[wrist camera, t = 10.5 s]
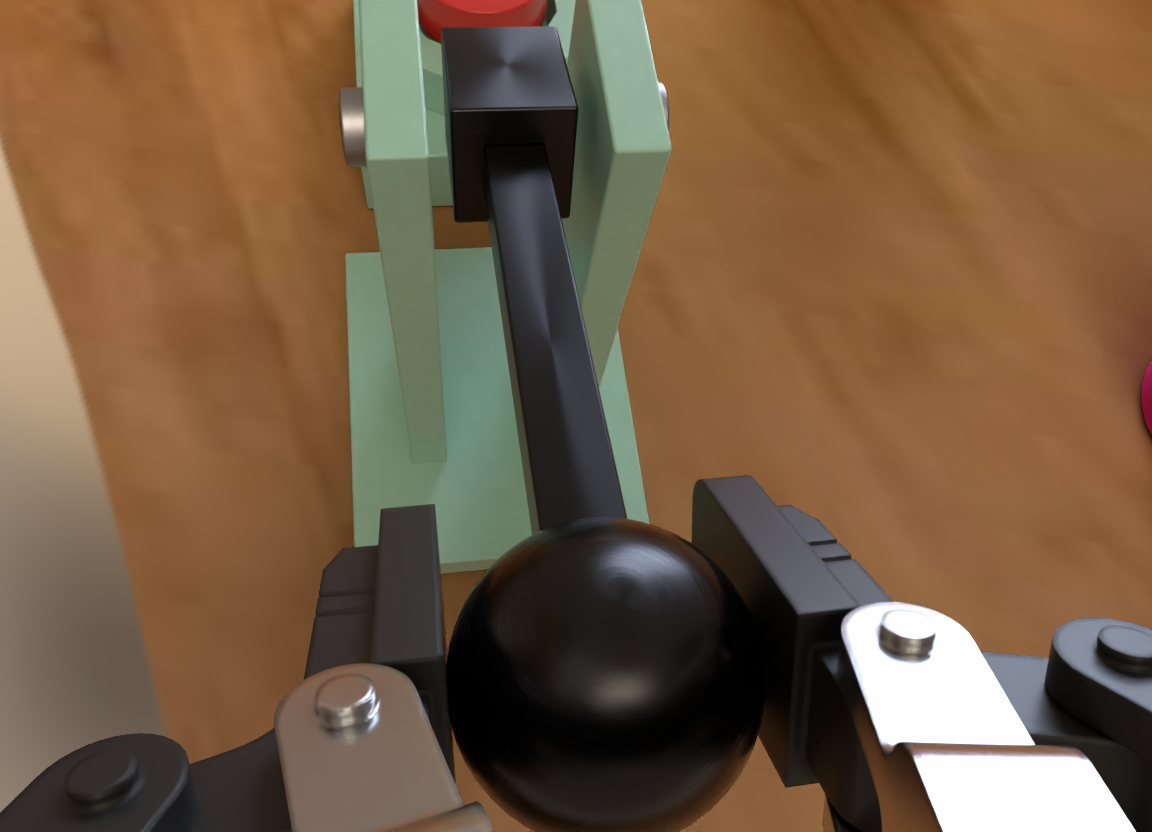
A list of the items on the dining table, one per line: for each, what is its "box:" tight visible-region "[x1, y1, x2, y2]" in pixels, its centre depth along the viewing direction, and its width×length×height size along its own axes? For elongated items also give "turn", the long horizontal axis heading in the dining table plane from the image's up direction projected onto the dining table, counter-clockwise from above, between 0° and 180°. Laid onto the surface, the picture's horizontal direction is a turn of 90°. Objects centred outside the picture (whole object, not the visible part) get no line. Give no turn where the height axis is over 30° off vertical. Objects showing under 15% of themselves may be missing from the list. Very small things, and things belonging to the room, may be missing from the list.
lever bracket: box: [339, 0, 672, 574], centre depth 22 cm, size 10×8×15 cm
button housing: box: [353, 0, 576, 209], centre depth 32 cm, size 10×8×4 cm
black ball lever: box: [441, 26, 766, 832], centre depth 14 cm, size 14×4×4 cm, turn 6°
